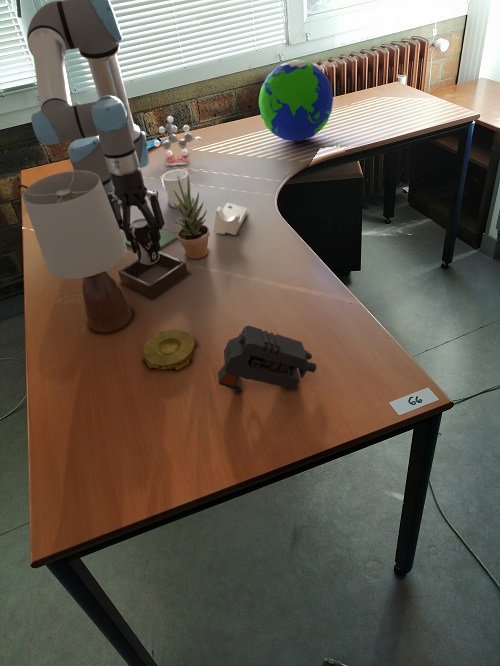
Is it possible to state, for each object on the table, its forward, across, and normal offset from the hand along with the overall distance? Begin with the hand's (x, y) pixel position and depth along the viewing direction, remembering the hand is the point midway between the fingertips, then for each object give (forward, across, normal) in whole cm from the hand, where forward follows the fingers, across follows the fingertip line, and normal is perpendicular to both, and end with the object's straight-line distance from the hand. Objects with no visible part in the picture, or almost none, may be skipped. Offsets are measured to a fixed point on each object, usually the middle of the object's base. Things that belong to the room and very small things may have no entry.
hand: (147, 250), depth 138 cm
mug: (+10, -6, +46) cm, 48 cm away
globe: (+10, +30, +101) cm, 106 cm away
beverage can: (+4, 0, 0) cm, 4 cm away
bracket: (+10, +17, +30) cm, 36 cm away
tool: (+9, +39, -38) cm, 55 cm away
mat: (+10, -10, +22) cm, 26 cm away
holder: (+9, 0, 0) cm, 9 cm away
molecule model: (+10, -17, +84) cm, 86 cm away
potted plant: (+10, +9, +13) cm, 18 cm away
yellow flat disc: (+9, +14, -30) cm, 35 cm away
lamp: (+9, -6, -19) cm, 22 cm away
